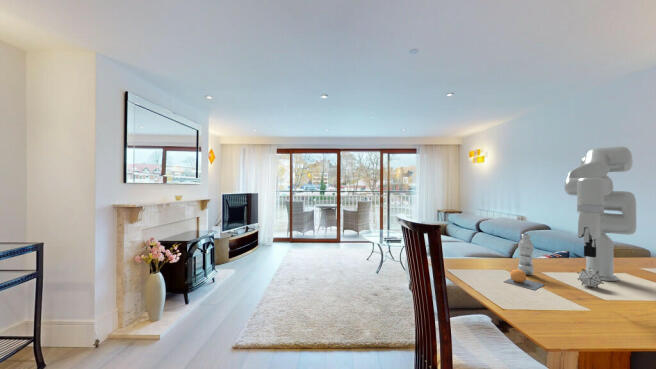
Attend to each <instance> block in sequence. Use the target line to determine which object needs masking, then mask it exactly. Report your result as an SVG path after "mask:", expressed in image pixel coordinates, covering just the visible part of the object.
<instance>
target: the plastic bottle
mask: <svg viewBox="0 0 656 369" xmlns="http://www.w3.org/2000/svg"><path fill="white" fill-rule="evenodd" d="M520 238H521V239H520V240H519V241H518V243H517V244H518V245H517V247H518V254H519V255H518V256H519V257H518V264H517V269H519V270H522V271H523V272H524V273H525V274H526V276H531V275H533V274H534V272H535V271H534V265H533V254H534V253H533V252H534V248H535V247H534V244H533V242H532V241H531V234H529V233H521V236H520Z"/></svg>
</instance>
